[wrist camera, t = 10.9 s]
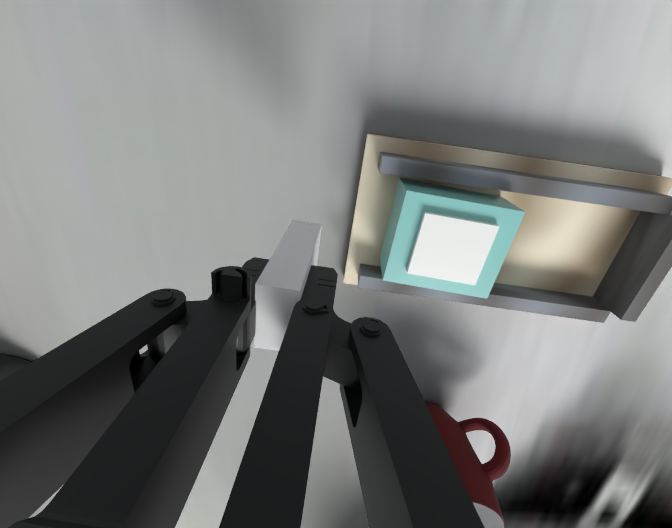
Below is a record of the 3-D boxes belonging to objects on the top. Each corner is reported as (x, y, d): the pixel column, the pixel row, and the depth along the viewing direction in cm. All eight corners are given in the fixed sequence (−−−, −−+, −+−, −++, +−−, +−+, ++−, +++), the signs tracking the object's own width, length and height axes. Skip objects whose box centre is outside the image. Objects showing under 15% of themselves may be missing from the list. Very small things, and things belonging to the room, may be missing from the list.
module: (379, 257, 25) (383, 283, 21) (399, 177, 22) (407, 192, 18) (470, 273, 25) (489, 302, 21) (501, 196, 22) (529, 214, 19)
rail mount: (343, 277, 27) (341, 304, 23) (367, 133, 22) (369, 139, 18) (585, 311, 27) (620, 343, 23) (662, 176, 22) (721, 190, 18)
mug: (454, 359, 30) (495, 469, 21) (503, 407, 32) (560, 524, 23) (367, 412, 33) (371, 525, 24) (417, 451, 36) (437, 568, 27)
